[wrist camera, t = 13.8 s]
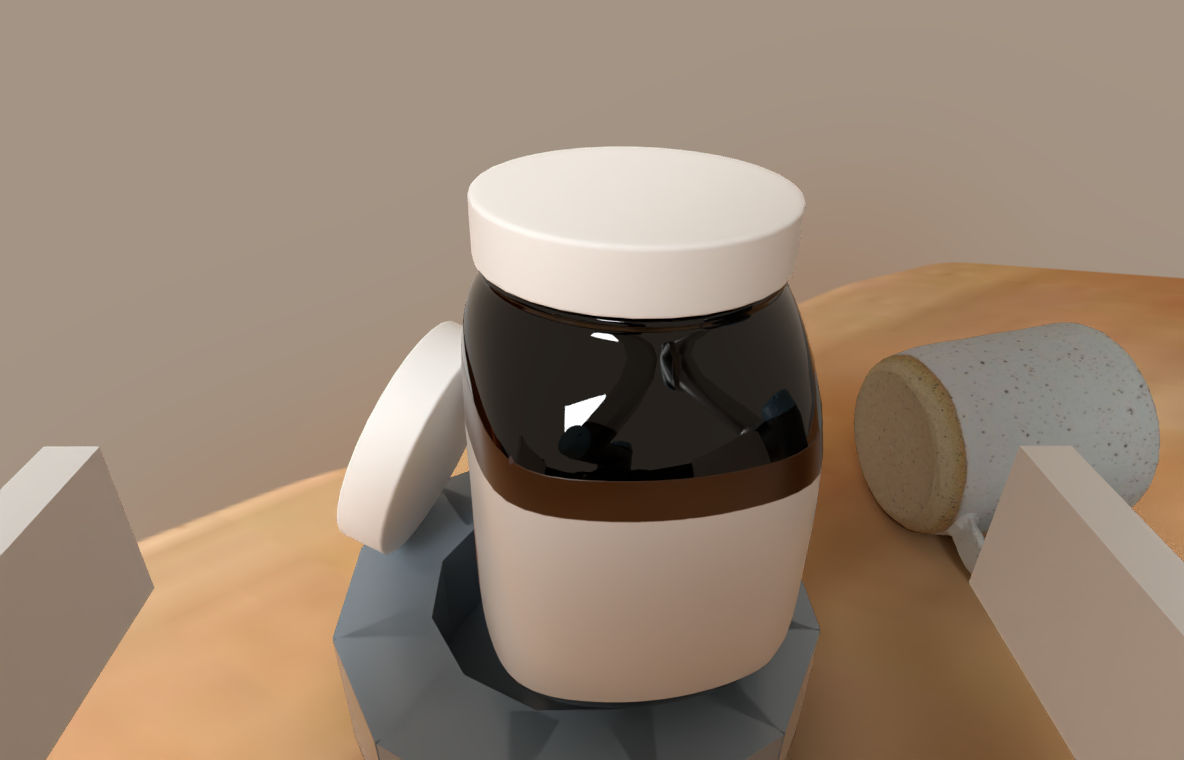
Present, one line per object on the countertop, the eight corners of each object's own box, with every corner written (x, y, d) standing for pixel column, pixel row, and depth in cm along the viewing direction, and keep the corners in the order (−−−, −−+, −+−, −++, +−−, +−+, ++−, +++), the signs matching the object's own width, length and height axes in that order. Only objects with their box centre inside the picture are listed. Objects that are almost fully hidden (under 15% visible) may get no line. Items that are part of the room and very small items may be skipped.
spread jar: (818, 738, 18) (944, 274, 12) (315, 807, 16) (167, 313, 10) (686, 441, 28) (717, 111, 22) (369, 466, 26) (310, 119, 20)
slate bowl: (741, 533, 30) (753, 449, 28) (850, 899, 18) (884, 805, 16) (404, 537, 29) (392, 452, 27) (307, 916, 18) (273, 822, 16)
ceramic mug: (828, 461, 34) (863, 305, 30) (991, 442, 35) (1046, 290, 31) (977, 659, 25) (1057, 475, 21) (1186, 621, 26) (1299, 443, 22)
